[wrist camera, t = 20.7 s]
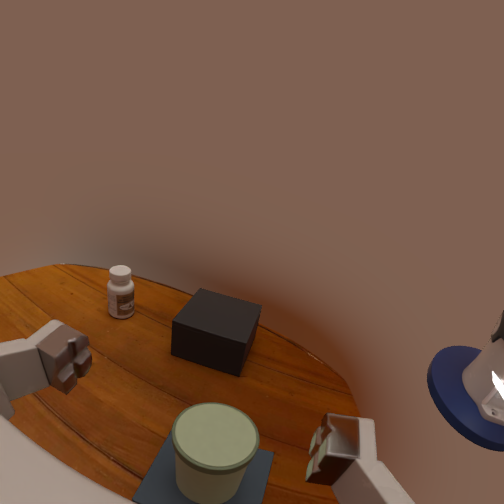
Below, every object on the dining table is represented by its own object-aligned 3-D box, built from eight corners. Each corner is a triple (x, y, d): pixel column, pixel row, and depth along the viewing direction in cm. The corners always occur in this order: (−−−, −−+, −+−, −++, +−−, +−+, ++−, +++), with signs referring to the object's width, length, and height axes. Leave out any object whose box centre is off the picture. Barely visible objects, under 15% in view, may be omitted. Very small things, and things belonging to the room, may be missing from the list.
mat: (272, 456, 27) (274, 452, 27) (249, 542, 17) (251, 540, 17) (175, 427, 29) (175, 422, 29) (132, 502, 19) (131, 499, 18)
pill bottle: (122, 323, 44) (121, 279, 41) (103, 312, 45) (100, 270, 42) (139, 311, 48) (139, 269, 45) (120, 301, 49) (119, 261, 46)
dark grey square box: (255, 336, 48) (262, 305, 46) (239, 376, 39) (246, 343, 37) (196, 319, 49) (199, 287, 47) (170, 354, 40) (172, 320, 38)
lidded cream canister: (255, 484, 23) (277, 439, 20) (202, 518, 18) (210, 484, 15) (211, 443, 27) (221, 390, 24) (159, 470, 22) (154, 421, 19)
